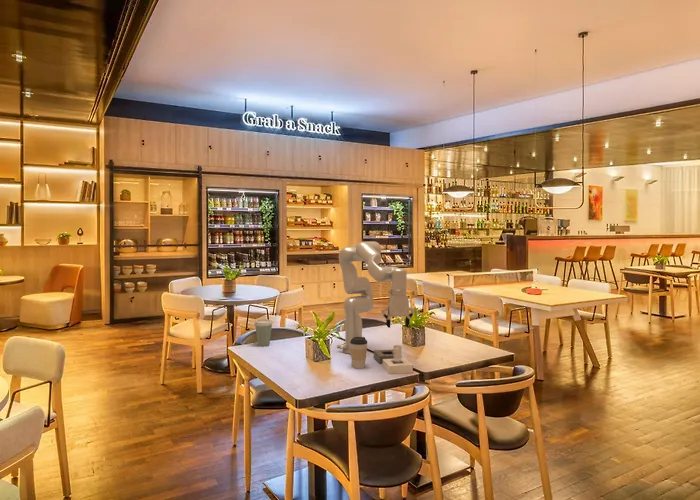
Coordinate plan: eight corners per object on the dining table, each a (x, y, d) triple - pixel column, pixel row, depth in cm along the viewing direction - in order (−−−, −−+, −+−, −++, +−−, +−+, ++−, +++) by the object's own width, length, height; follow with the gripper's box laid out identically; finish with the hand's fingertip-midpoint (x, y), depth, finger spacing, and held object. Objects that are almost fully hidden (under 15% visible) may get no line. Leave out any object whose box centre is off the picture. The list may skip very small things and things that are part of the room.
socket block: (389, 374, 239) (389, 366, 239) (382, 366, 251) (382, 359, 251) (412, 372, 242) (412, 364, 242) (404, 365, 254) (404, 357, 253)
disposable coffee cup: (276, 344, 292) (276, 319, 292) (263, 348, 283) (263, 323, 282) (263, 342, 298) (263, 317, 297) (250, 345, 289) (250, 320, 288)
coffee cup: (354, 370, 245) (355, 340, 244) (346, 365, 253) (346, 336, 252) (370, 367, 249) (370, 338, 248) (361, 363, 257) (362, 334, 256)
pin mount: (379, 364, 256) (379, 356, 256) (373, 357, 267) (373, 350, 267) (401, 362, 258) (401, 355, 258) (394, 356, 270) (394, 349, 270)
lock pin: (394, 371, 244) (395, 347, 243) (392, 368, 248) (392, 345, 247) (402, 370, 245) (402, 347, 244) (399, 368, 249) (400, 345, 248)
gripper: (384, 294, 238) (383, 329, 240) (417, 293, 242) (416, 327, 243) (379, 292, 246) (379, 325, 247) (412, 291, 250) (411, 324, 251)
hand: (397, 326), depth 245 cm, fingers open, 9 cm apart
